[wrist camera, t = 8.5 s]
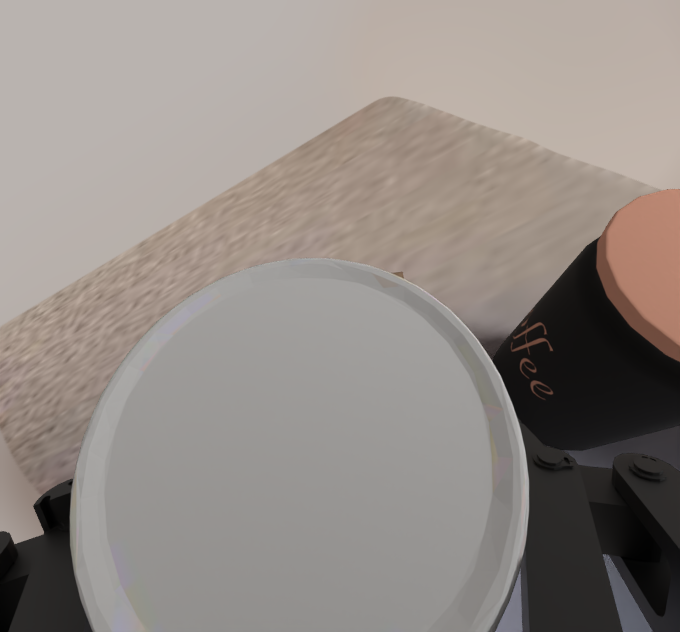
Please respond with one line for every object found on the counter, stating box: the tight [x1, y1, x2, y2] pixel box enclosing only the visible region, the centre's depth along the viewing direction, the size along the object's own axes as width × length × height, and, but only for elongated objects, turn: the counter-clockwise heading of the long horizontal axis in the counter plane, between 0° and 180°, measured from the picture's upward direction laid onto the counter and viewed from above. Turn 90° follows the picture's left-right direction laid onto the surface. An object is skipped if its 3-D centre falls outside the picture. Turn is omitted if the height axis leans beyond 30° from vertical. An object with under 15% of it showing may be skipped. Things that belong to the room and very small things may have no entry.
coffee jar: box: [493, 189, 680, 450], centre depth 23 cm, size 11×11×18 cm
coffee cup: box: [70, 258, 529, 632], centre depth 12 cm, size 9×9×12 cm
